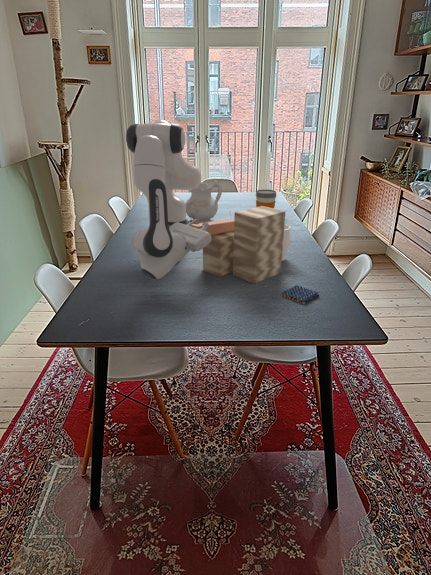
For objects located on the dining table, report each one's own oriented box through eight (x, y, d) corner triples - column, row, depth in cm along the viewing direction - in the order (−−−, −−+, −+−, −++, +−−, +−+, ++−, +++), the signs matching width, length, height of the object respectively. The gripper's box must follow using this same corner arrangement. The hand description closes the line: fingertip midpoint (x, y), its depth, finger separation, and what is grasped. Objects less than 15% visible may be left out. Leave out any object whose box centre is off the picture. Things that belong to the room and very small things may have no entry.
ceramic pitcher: (223, 220, 245) (223, 177, 237) (220, 226, 227) (220, 181, 219) (188, 219, 247) (187, 177, 239) (182, 225, 229) (181, 180, 220)
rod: (197, 237, 152) (197, 226, 151) (190, 234, 155) (190, 224, 153) (244, 229, 172) (245, 219, 170) (237, 227, 174) (238, 217, 173)
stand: (254, 283, 158) (257, 218, 147) (233, 274, 166) (234, 212, 155) (280, 273, 167) (285, 211, 156) (259, 265, 175) (262, 205, 164)
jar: (269, 263, 177) (272, 230, 170) (261, 255, 186) (263, 224, 179) (292, 261, 179) (295, 229, 173) (282, 253, 188) (285, 222, 182)
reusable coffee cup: (276, 218, 245) (277, 193, 239) (255, 218, 245) (256, 193, 239) (273, 213, 256) (275, 189, 250) (254, 213, 257) (255, 189, 250)
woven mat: (295, 288, 155) (296, 283, 154) (320, 296, 148) (320, 291, 148) (279, 297, 148) (280, 292, 147) (304, 306, 141) (305, 301, 141)
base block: (219, 276, 163) (219, 239, 157) (203, 269, 170) (202, 233, 163) (239, 269, 171) (241, 233, 164) (223, 262, 177) (224, 227, 171)
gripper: (192, 246, 141) (217, 221, 145) (158, 233, 155) (182, 210, 159) (199, 259, 145) (223, 234, 150) (166, 245, 159) (189, 223, 163)
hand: (202, 222), depth 154 cm, fingers closed on rod, 4 cm apart
